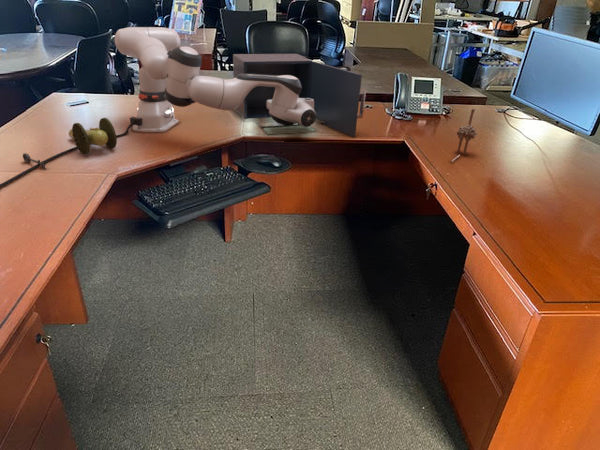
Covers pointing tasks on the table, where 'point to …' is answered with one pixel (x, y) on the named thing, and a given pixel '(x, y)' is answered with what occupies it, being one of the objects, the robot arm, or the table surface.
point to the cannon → (93, 136)
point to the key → (28, 159)
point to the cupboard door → (337, 97)
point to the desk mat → (286, 129)
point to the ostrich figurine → (466, 134)
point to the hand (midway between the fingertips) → (284, 100)
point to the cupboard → (269, 65)
